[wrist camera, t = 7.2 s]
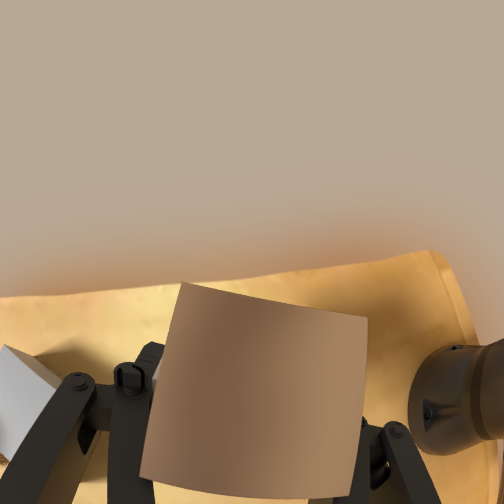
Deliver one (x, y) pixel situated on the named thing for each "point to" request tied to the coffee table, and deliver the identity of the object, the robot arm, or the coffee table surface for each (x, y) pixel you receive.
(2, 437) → the slate-grey plinth
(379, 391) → the coffee table surface
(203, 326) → the walnut block
